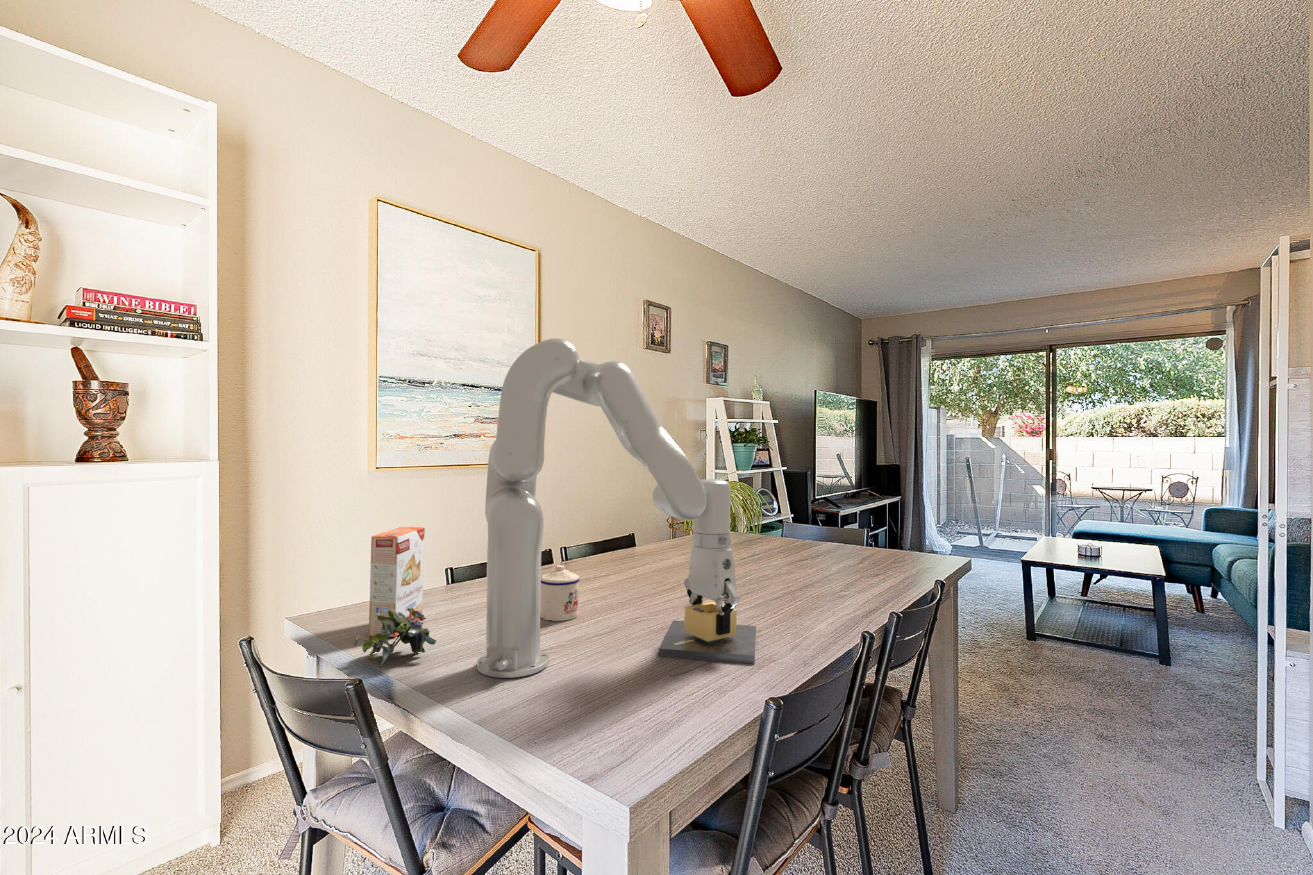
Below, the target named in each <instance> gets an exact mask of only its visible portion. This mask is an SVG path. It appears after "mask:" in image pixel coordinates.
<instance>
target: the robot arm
mask: <svg viewBox="0 0 1313 875" xmlns="http://www.w3.org/2000/svg"><path fill="white" fill-rule="evenodd" d="M503 380H504V381H503V384H502V386H501V387H502V388H501V392H500V401H499V408H498V415H497V416H498V417H497V426H496V436H495V440H494V441H493V443H492V445H491V447H490V449H489V454H488V462H487V476H486V477H487V478H486V488H485V490H486V491H485V493H486V494H485V503H484V506H485V507H484V509H485V510H484V511H485V512H484V514H485V519H486V522H487V547H486V548H487V553H486V554H487V555H486V558H487V559H486V620H485V621H486V622H485V623H486V626H485V629H486V632H485V633H486V634H485V640H486V641H485V642H486V643H485V653H484V654H482V655H481V656H480V657H479V658H478V659H477V661H476V669H477V671H478V672H479V673H480V674H482V675H484V676H487V677H492V678H497V679H498V678H501V679H513V678H521V677H526V676H531V675H533V674H536V673H539V672H540V671H542V670H544V669H545V668H546V667H547V666H548V664H549V654H547V653H546V652H545V651H544V650H542V649H541V616H540V605H541V576H542V572H541V571H542V569H541V567H542V550H543V549H542V548H543V547H542V546H543V539H544V538H543V536H544V526H545V524H544V513H543V509H542V508H541V505H540V504H539V501H538V500H537V499H536V491H537V490H536V489H537V479H538V478H537V476H538V475H539V473H540V472H541V471H542V469H543V466H544V462H545V439H546V437H545V436H546V421H547V420H546V419H547V413H548V406H549V401H550V398H551V395H552V394H556V395H559V396H562V397H566V398H568V399H572V400H575V401H576V402H577V401H578V402H581V403H584V404H587V405H591V406H595V407H600V408H601V410H602V412H603V414H604V415H605V416H606V419H607V421H608V422H609V424H610V426H611V427H612V429H613V432H615V435H616V437H617V438H618V440H619V442H620V444H621V446H622V447H623V449H625V450H626V451H627V452H628V453H629V455H631V456H632V457H633V458H634V459H635V460H636V461H638V462H640V464H642V466H644V467H645V469H646V470H648V472H649V473H650V475H652V477H653V479H654V480H655V482H656V483H657V485H655V487H654V489H653V492H652V501H653V504H654V506H655V508H656V509H657V510H658V511H659V512H661V513H663V514H665V515H667V516H669V517H672V518H676V519H679V520H681V521H692V547H691V550H690V556H689V557H690V558H689V565H688V566H689V569H688V577H687V578H685V579H684V580H683V585H684V588H685V589H686V594H687V596H688V598H689V599H688V600H689V601H688V602H689V604H690V605H697V604H702V603H704V602H703V601H704V599H705V598H706V599H709V600H712V601H713V602H715V603H716V606H717V609H718V613H719V614H717V615H716V634H717V635H723V634H728V633H730V614H731V613H733V610H734V609H735V610H736V607H737V605H738V603H740V601H741V597H740V595H739V593H738V592H737V576H736V575H737V574H736V563H735V557H734V552H733V549H731V543H732V541H731V499H732V498H731V495H732V494H731V493H732V491H731V490H732V488H731V485H730V483H729V482H728V481H727V480H724V479H715V478H714V479H710V478H708V479H704V478H703V479H700V477H699V475H698V474H697V472H696V470H695V469H694V467H693V464H692V463H691V461H690V460H689V458H688V457H687V455H686V454H685V453H684V451H683V449H681V448H680V446H679V445H678V444H677V443H676V442H675V440H674V439H673V438H672V437H671V435H670V434H669V433H668V431H667V430H666V429H665V428H664V427H663V425H662V423H661V422H660V421H659V419H658V416H657V415H656V413H655V411H654V410H653V408H652V406H651V404H650V403H649V401H648V399H647V397H646V395H645V394H644V392H643V390H642V388H641V386H640V384H639V382H638V381H637V379H636V377H635V375H634V374H633V372H632V371H631V369H630V368H629V367H628V366H627V365H626V364H625V363H623V362H620V361H615V360H614V361H613V360H611V361H606V362H603V363H600V364H599V363H595V362H592V361H589V360H587V359H583V358H581V357H580V355H579V352H578V349H577V348H576V347H575V345H574V344H573V343H571V342H569V341H568V340H566V339H563V338H556V337H554V338H549V339H545V340H542V341H539V342H538V343H536V344H533V345H532V346H530V347H529V348H527V349H525V350H524V351H523V352H522V353H521V354H520V355H519V356H518V357H517V358H516V359H515V360H514V361H513V363H512V364H511V366H510V367H509V369H508V372H507V373H506V375H505V378H504V379H503ZM723 602H724V607H723V606H722V605H723Z"/></svg>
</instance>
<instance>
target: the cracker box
mask: <svg viewBox="0 0 1313 875" xmlns="http://www.w3.org/2000/svg"><path fill="white" fill-rule="evenodd" d="M425 529H426V528H425V527H423V526H422V527H420V526H400V527H398V528H394V529H390V530H388V531H384V532H381V533H377V534H374V535H372V536H371V541H370V542H371V543H370V576H369V577H370V579H369V580H370V581H369V611H368V612H369V613H368V614H369V617H368V637H369V636H373V635H375V634H378V633H379V634H380V633H381V630H382V626H383V623H382V621H380V620H378V619H377V614H378V613H379V615H381V616H385V617H389V614H388V611H389V610H391V609H392V610H394V611H396V612H397V613H398V612H399V613H402V614H403V615H405V617H406V618H407V617H409V618H412V619H413V617H414V616H413V615H412V614H411V613H410V612H409V611H408V610H407V609H408V608H410V609H411V608H414V609H415V610H416V611H419V612H420V613H421V614H423V601H424V600H423V597H424V560H425V556H424V555H425V532H426V531H425ZM416 620H417V621H418V620H419V618H416V619H415V620H414V621H416ZM419 621H420V620H419ZM419 621H418V622H419ZM384 634H385V633H383V634H382V635H384ZM398 634H399V633H397V632H396V633H394V634H391V635H390V636H389V637H395V636H396V637H397V636H398ZM389 637H388V638H389ZM396 637H395V638H396Z"/></svg>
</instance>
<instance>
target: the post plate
mask: <svg viewBox="0 0 1313 875" xmlns="http://www.w3.org/2000/svg"><path fill="white" fill-rule="evenodd" d="M684 630H685V620H672V622H671V623H670V626H669V628H668V630H667V631H666V633H665V635H664V637H663V639H662V641H661V643H660V646H659V647H658V657H662V658H664V657H665V658H676V659H686V660H687V659H689V660H700V661H701V660H702V661H703V660H704V661H715V662H726V663H729V662H730V663H740V664H752V665H754V664H755V663H756V662H755V661H756V660H755V659H756V644H757V643H756V642H757V625H746V624H736V635H734V636H730V637H725V638H721V639H717V640H713V641H708V642H707V641H705V640H703V639H701V638H698V637H696V636H694V635H692V634H689V633H687V632H685V631H684Z"/></svg>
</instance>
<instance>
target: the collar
mask: <svg viewBox="0 0 1313 875" xmlns="http://www.w3.org/2000/svg"><path fill="white" fill-rule="evenodd" d="M722 606H723V607H724V606H725V604H722ZM717 614H719V613H718V609H717V606H716V603H715V601H707V602H702V604H697V605H692V604H690V605H687V606H684V621H685V630H684V631H685V632H687V633H689V634H692V635H694V636H696V637H698V638H701V639H703V640H705V641H707V642H708V641H713V640H717V639H721V638H725V637H730V636H734V635H736V625H737V616H738V615H737V609H736V608H735V609H734V610H733V613H731V614H730V633H728V634H723V635H717V634H716V615H717Z"/></svg>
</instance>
